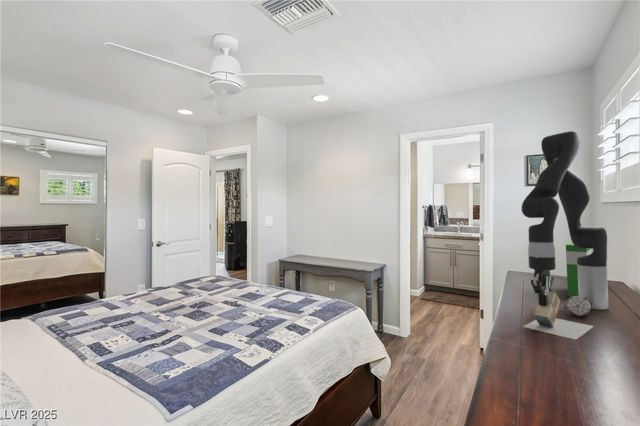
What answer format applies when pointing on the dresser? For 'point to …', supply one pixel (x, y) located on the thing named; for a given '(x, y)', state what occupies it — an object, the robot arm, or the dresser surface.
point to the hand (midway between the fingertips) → (543, 305)
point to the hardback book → (574, 266)
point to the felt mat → (562, 328)
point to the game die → (578, 305)
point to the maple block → (547, 310)
